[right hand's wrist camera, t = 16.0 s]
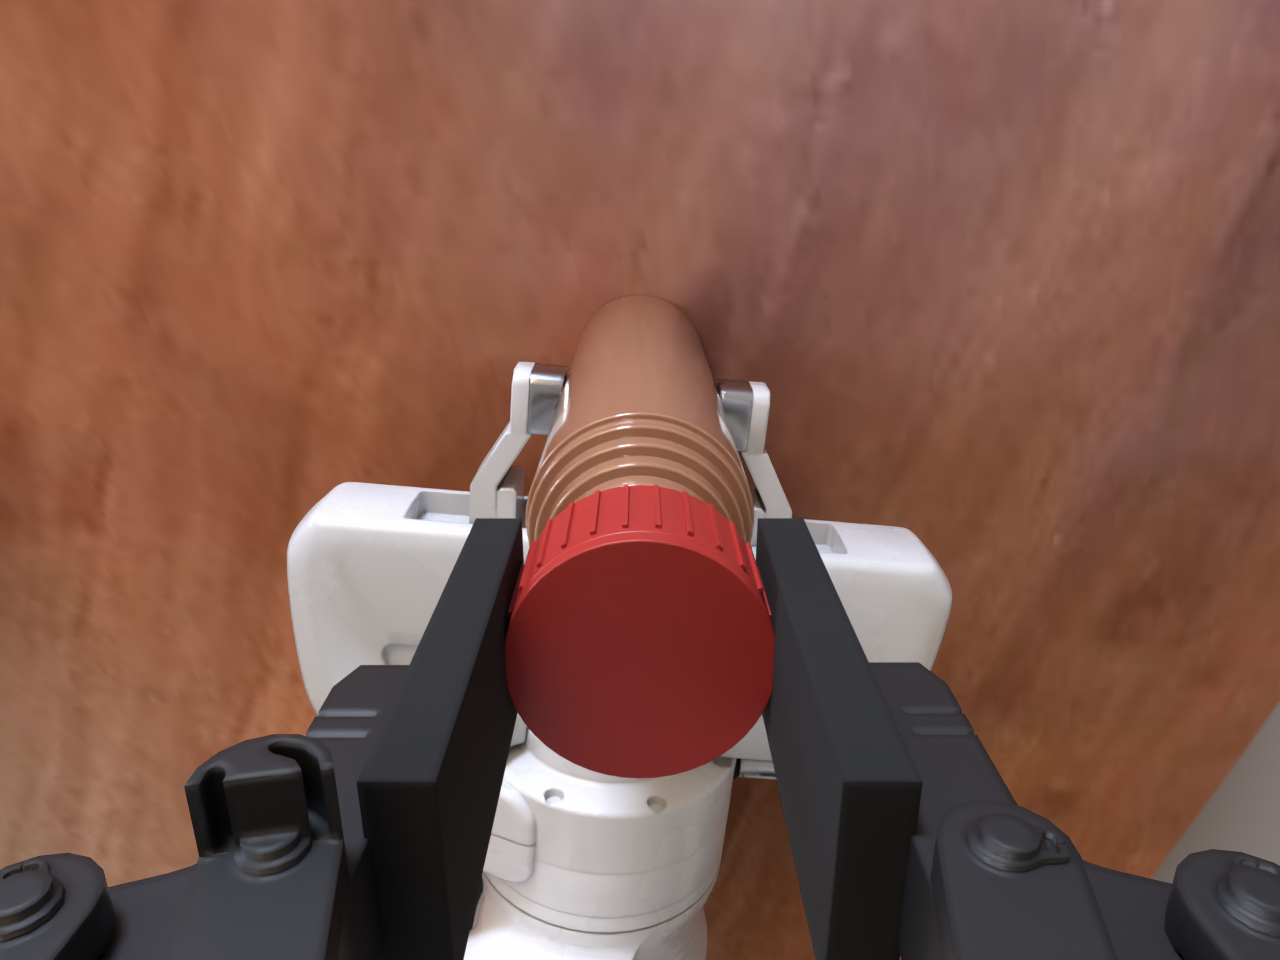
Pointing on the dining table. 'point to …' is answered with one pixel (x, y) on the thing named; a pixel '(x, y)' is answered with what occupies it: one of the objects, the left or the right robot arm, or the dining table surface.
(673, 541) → the cap
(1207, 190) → the dining table surface
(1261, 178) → the dining table surface
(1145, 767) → the dining table surface
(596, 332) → the bottle
